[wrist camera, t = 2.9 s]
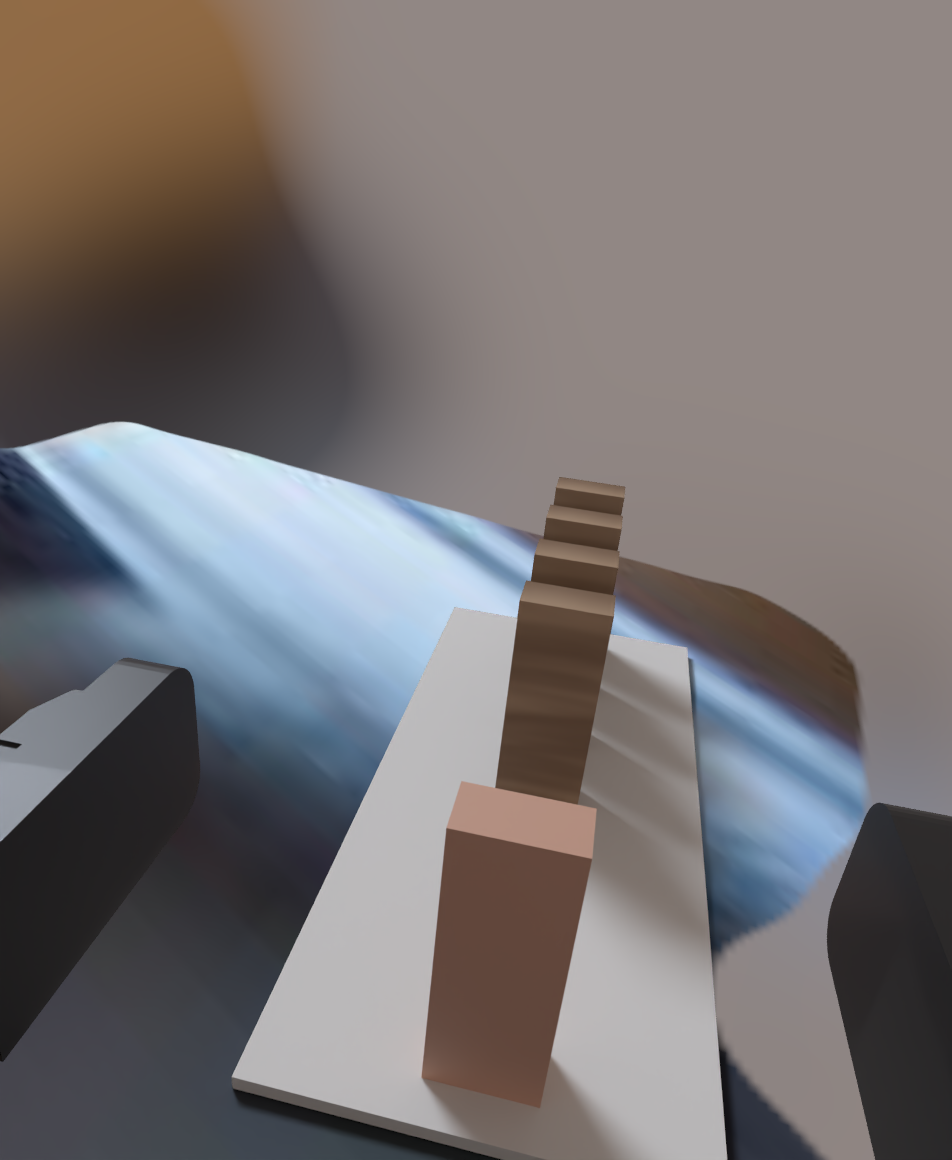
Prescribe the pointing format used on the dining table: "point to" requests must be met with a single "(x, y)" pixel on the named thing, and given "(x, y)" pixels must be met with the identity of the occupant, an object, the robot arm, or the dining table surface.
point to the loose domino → (504, 939)
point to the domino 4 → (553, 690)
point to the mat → (601, 950)
